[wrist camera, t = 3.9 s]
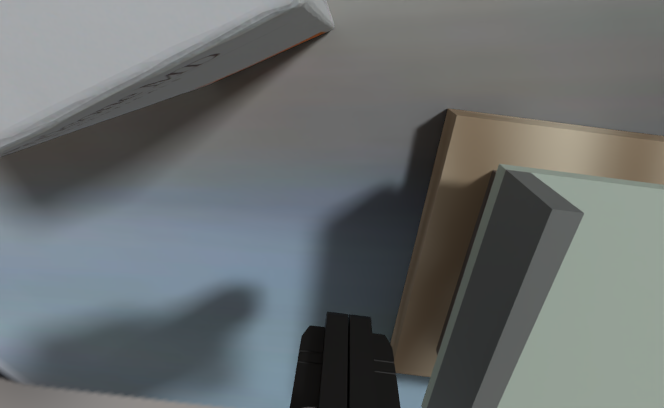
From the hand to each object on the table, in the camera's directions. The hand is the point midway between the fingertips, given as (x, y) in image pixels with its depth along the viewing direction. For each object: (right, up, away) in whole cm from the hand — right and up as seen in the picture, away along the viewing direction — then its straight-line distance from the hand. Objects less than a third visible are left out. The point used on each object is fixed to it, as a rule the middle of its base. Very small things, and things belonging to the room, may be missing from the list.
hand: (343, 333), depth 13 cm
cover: (+10, 0, +2) cm, 11 cm away
